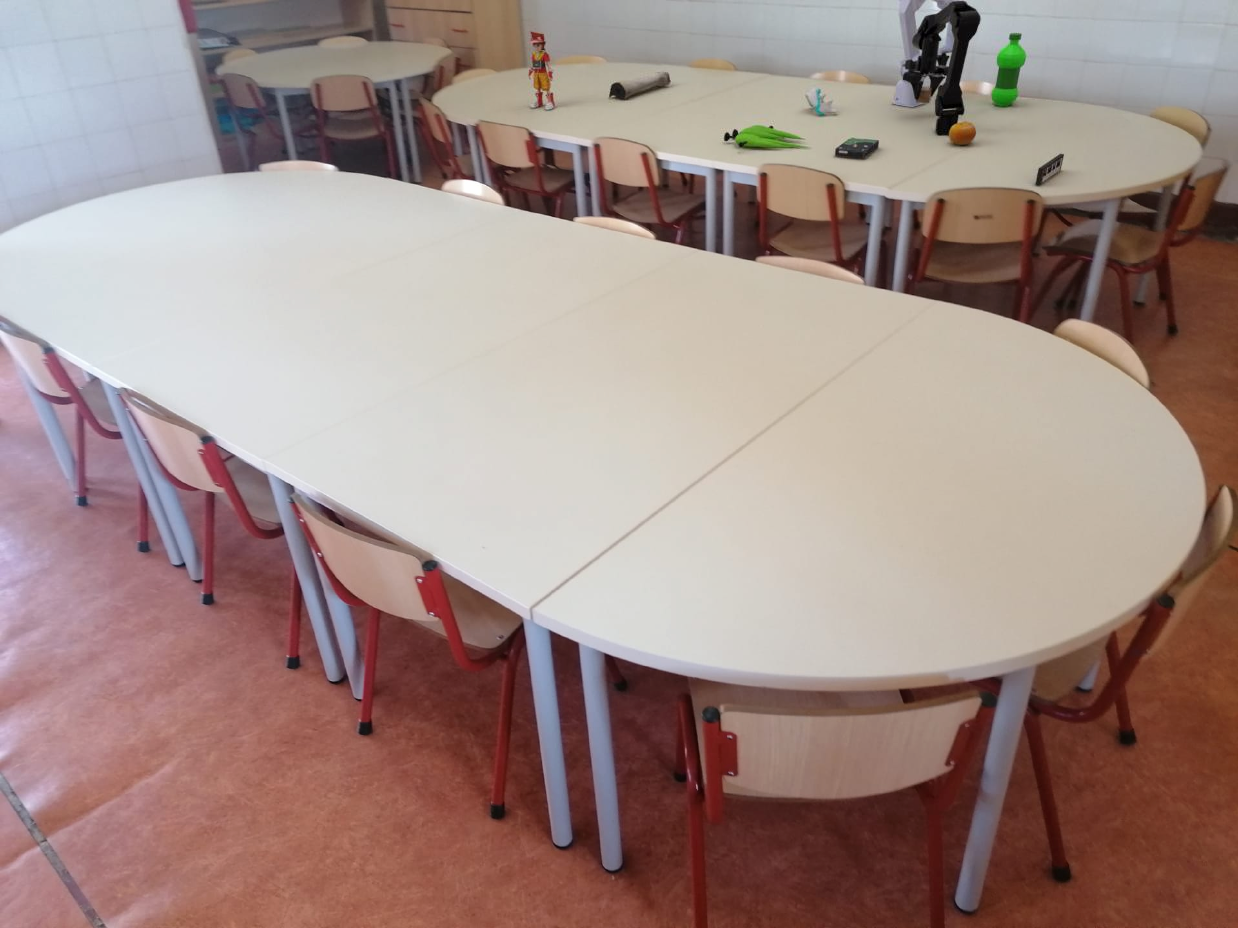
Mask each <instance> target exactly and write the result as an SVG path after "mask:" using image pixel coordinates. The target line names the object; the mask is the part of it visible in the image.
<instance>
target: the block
mask: <svg viewBox="0 0 1238 928" xmlns="http://www.w3.org/2000/svg"><path fill="white" fill-rule="evenodd" d="M931 94H932V87H930V86H927V87H926V86H922V89H921V92H920V95H919V98H918V100H916V103H924V104H930V102H931V100H932V97H931Z"/></svg>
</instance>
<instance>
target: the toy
mask: <svg viewBox="0 0 1238 928" xmlns="http://www.w3.org/2000/svg"><path fill="white" fill-rule="evenodd" d="M529 33H530V35H531V36H528V37H527V38H528V39H529V40H528V41H527V43H529V44H530V43H531V44H532V48H533V50H534V51H533V52H532V55H531V58H530V59H531V63H530V66H528V74H527V75H528V76H527V77H528V79H529V80H531V75H532V74H533V84H532V85H533V86H532V87H533V88H534V89H535V90H536V92H534V95H535V97H536V100H535V101H533V102H531V105H530V108H531V109H535V108H538V107H542V106H544V101H543V100H544V99H543V95H544V92H546V94H545V97H546V99H547V103H546V104H545V106H544V110H546V111H549V110H553V109H554V107H555V106H556V105H555V99H554V92H551V91H550V90H551V86H552V84H551V82H552V81H553V80H554V77H553V73H554V71H555V70H554V69H552V68H551V63H550V61H551V59H550V58H551V57H550V54H549V53H548V52H547V50H546V48H545V46H546V44H547V41H545V35H544V33H543V32H542V33H539V32H535V31H529Z"/></svg>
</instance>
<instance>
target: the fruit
mask: <svg viewBox="0 0 1238 928" xmlns="http://www.w3.org/2000/svg"><path fill="white" fill-rule="evenodd" d="M976 135H977V129H976V126H975V125H974V124H973V123H971V122H969V121H962V122H961V121H960V122H958V123H957V124H955V125H953V126H952V127H951V129H950V131H949V135H948V138H949V141H951V142H952V143H953V144H955V145H961V146H965V145H968V144H970V143H972V142H973V140H974V139H975V138H976Z"/></svg>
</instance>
